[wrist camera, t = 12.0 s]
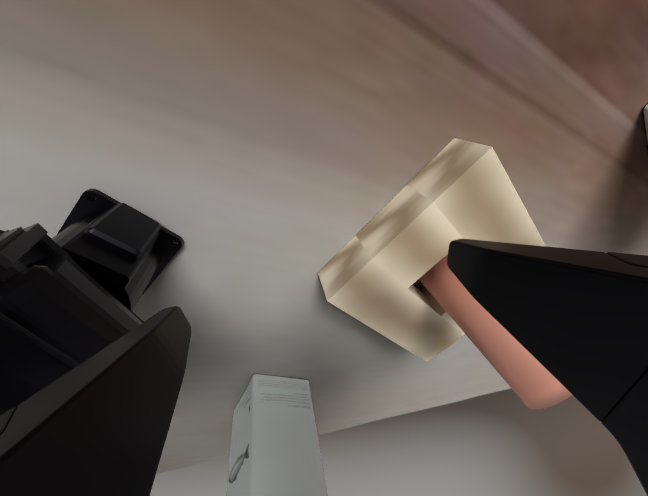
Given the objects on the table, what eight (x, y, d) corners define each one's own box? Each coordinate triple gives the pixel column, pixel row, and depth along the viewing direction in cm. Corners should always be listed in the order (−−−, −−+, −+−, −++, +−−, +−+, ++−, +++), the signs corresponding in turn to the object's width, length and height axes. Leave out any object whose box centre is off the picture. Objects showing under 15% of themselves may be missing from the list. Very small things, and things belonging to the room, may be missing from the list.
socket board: (409, 334, 32) (427, 362, 29) (317, 272, 25) (327, 301, 21) (521, 244, 29) (556, 265, 25) (454, 138, 21) (492, 146, 17)
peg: (414, 279, 28) (528, 417, 16) (403, 253, 26) (525, 390, 14) (448, 261, 27) (590, 387, 16) (439, 233, 25) (596, 355, 14)
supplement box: (252, 371, 30) (249, 527, 19) (310, 378, 33) (335, 516, 22) (231, 409, 32) (218, 563, 22) (286, 413, 35) (298, 550, 25)
